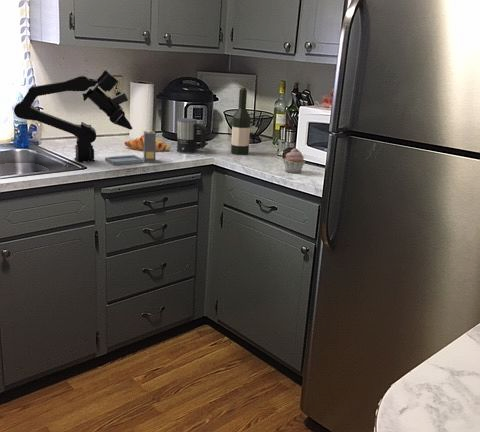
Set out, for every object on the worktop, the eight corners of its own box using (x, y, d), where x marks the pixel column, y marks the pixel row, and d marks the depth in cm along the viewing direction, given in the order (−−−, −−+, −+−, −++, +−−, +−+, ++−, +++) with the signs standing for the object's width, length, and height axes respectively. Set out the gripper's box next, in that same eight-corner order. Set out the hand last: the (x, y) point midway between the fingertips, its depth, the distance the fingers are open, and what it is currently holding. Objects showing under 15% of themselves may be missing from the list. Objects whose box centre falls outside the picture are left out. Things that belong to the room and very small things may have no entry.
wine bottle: (246, 155, 260) (250, 89, 251) (228, 154, 261) (232, 87, 252) (250, 152, 268) (254, 87, 258) (232, 150, 269) (236, 86, 260)
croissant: (170, 157, 264) (172, 141, 265) (168, 151, 254) (170, 134, 255) (125, 153, 264) (127, 137, 265) (121, 147, 254) (123, 130, 255)
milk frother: (175, 153, 257) (175, 120, 252) (178, 146, 272) (179, 115, 267) (206, 154, 257) (207, 122, 253) (208, 148, 272) (209, 117, 268)
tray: (114, 165, 226) (113, 161, 226) (105, 160, 233) (105, 157, 233) (143, 162, 233) (143, 159, 233) (134, 158, 240) (134, 155, 240)
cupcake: (291, 175, 228) (293, 150, 225) (277, 170, 235) (279, 146, 232) (309, 173, 233) (311, 149, 230) (294, 168, 240) (296, 145, 237)
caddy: (144, 162, 235) (144, 131, 231) (143, 159, 240) (143, 129, 236) (155, 162, 236) (155, 132, 232) (154, 159, 241) (154, 130, 237)
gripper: (116, 87, 217) (146, 115, 224) (113, 83, 234) (142, 109, 241) (97, 109, 218) (127, 136, 224) (95, 103, 235) (124, 128, 241)
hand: (130, 127), depth 232 cm, fingers open, 9 cm apart
